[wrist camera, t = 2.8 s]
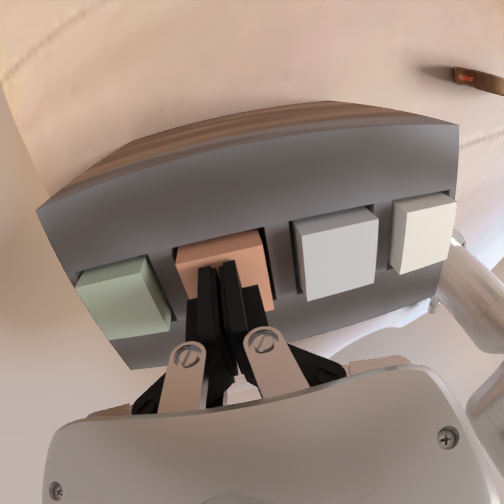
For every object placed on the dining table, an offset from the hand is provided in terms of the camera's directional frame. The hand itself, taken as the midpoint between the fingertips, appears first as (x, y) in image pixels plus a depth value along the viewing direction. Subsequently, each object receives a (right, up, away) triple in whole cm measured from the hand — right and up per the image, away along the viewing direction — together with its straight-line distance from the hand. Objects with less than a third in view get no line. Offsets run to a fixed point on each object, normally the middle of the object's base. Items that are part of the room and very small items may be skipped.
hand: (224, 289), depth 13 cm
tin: (+34, +27, +13) cm, 46 cm away
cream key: (+11, +4, +2) cm, 11 cm away
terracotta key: (0, +1, +2) cm, 3 cm away
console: (0, +11, +17) cm, 20 cm away
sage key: (-6, 0, +2) cm, 6 cm away
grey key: (+5, +2, +2) cm, 6 cm away
